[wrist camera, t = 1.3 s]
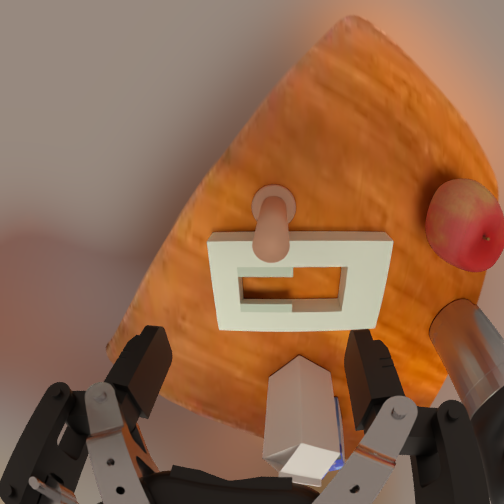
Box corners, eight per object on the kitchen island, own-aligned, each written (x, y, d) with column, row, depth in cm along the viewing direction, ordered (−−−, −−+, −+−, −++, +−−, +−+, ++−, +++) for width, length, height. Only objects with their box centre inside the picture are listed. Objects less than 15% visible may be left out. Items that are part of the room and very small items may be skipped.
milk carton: (298, 353, 38) (301, 472, 20) (330, 371, 39) (342, 479, 22) (268, 376, 40) (259, 484, 23) (300, 392, 42) (300, 491, 24)
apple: (478, 205, 26) (525, 233, 17) (439, 259, 29) (478, 300, 20) (440, 155, 24) (494, 170, 15) (396, 215, 28) (438, 252, 19)
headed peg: (295, 183, 28) (304, 214, 18) (295, 225, 30) (302, 275, 20) (251, 184, 28) (235, 214, 18) (253, 225, 30) (240, 274, 20)
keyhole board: (384, 231, 29) (393, 241, 26) (369, 315, 34) (374, 328, 31) (212, 232, 31) (206, 241, 28) (222, 316, 36) (218, 329, 33)
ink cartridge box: (307, 400, 43) (309, 470, 30) (337, 394, 42) (345, 464, 28) (315, 423, 46) (317, 483, 33) (341, 418, 45) (348, 478, 32)
